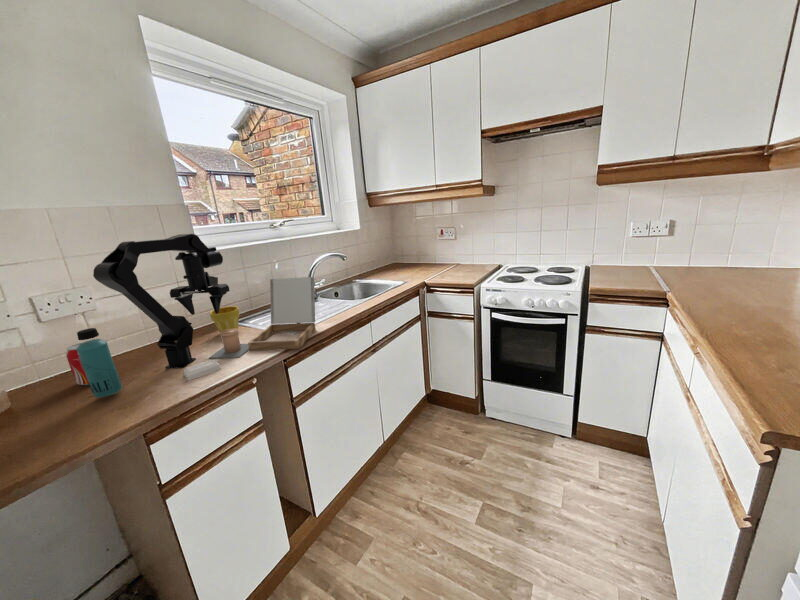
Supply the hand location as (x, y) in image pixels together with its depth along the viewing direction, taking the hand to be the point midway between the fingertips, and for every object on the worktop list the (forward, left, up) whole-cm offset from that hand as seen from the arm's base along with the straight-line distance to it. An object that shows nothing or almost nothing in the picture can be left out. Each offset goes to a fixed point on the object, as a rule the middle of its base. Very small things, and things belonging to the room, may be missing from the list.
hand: (205, 313), depth 120 cm
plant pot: (+15, +3, -13) cm, 20 cm away
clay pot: (-4, -10, -12) cm, 16 cm away
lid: (+17, -25, -1) cm, 30 cm away
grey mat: (-4, -10, -13) cm, 17 cm away
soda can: (-23, +25, -13) cm, 36 cm away
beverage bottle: (-32, +10, -13) cm, 36 cm away
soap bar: (-19, -9, -14) cm, 25 cm away
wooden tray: (+5, -25, -13) cm, 29 cm away
